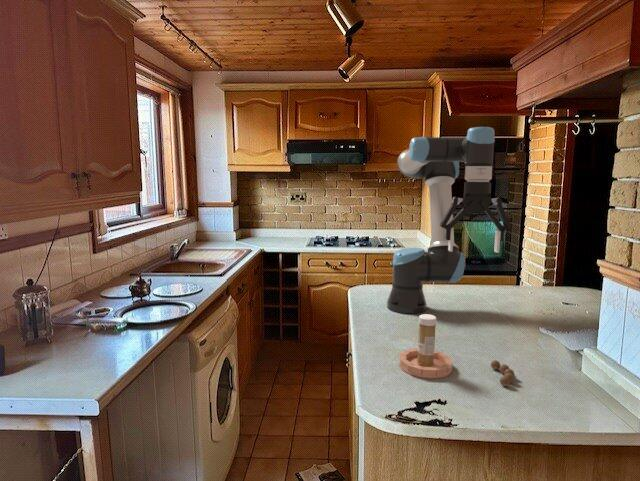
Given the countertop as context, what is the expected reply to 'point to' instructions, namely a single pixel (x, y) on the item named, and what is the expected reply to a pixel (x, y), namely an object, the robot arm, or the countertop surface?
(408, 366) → the saucer
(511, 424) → the countertop surface
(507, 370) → the bead string
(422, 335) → the sprinkles bottle
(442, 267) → the robot arm
